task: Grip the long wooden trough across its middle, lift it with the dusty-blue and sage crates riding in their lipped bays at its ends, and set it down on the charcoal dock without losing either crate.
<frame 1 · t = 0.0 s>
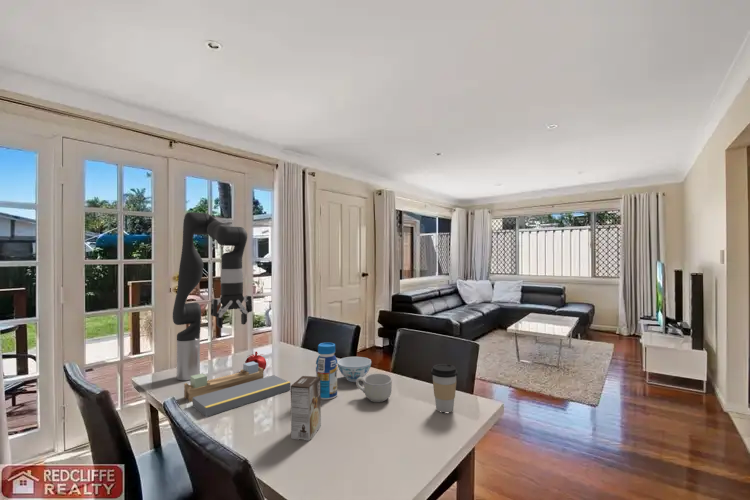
hand: (232, 325, 129), 29 cm above the table, tool pointing down, fingers open, 8 cm apart
dock: (244, 397, 138), on the table
pale blue block: (250, 372, 154), point 4 cm above the table, touching long wooden trough
beverage bottle: (326, 396, 139), on the table
pomegranate: (255, 371, 169), on the table
coffee box: (306, 433, 110), on the table
sage crate: (198, 385, 139), point 4 cm above the table, touching long wooden trough
long wooden trough: (226, 389, 147), on the table, touching pale blue block, sage crate
chinaware: (354, 379, 157), on the table
coffee cup: (444, 410, 126), on the table
teacup: (374, 399, 136), on the table
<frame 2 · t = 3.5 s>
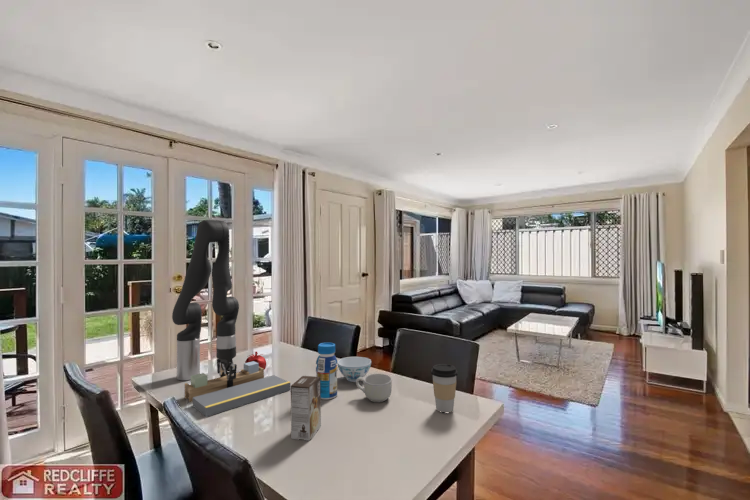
hand: (226, 386, 146), 1 cm above the table, tool pointing down, fingers closed on long wooden trough, 6 cm apart
long wooden trough: (226, 389, 146), on the table, touching pale blue block, gripper, sage crate
everything else where it was.
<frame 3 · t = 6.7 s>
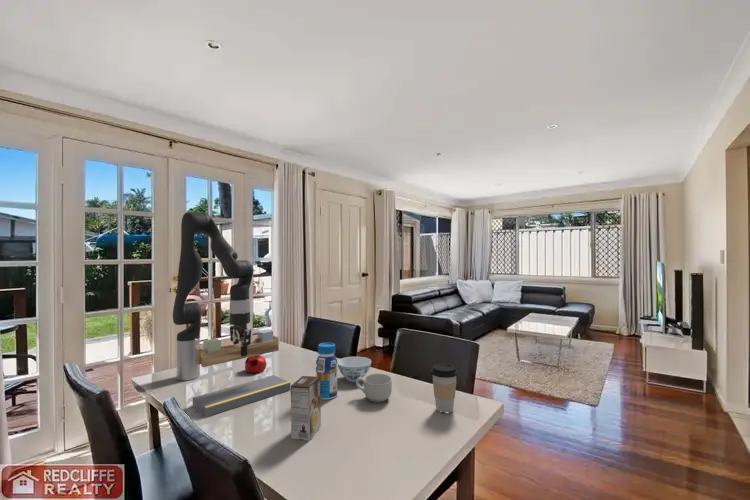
hand: (240, 354, 139), 16 cm above the table, tool pointing down, fingers closed on long wooden trough, 6 cm apart
pale blue block: (265, 340, 147), point 20 cm above the table, touching long wooden trough
sage crate: (212, 350, 132), point 20 cm above the table, touching long wooden trough
long wooden trough: (240, 356, 139), point 15 cm above the table, touching pale blue block, gripper, sage crate
everything else where it was.
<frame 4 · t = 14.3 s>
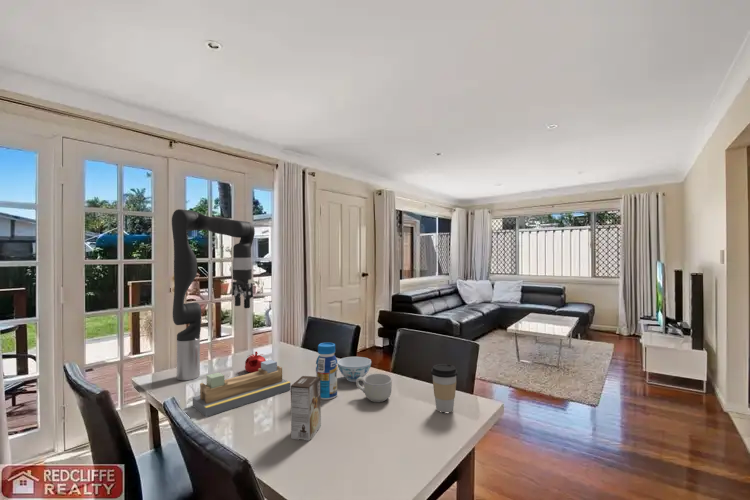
hand: (242, 307, 150), 33 cm above the table, tool pointing down, fingers open, 8 cm apart
pale blue block: (268, 370, 145), point 8 cm above the table, touching long wooden trough
sage crate: (215, 385, 130), point 8 cm above the table, touching long wooden trough
long wooden trough: (243, 389, 138), point 3 cm above the table, touching pale blue block, dock, sage crate
everything else where it was.
at the end: long wooden trough inside the target area on the dock (0.1 cm from its centre), point 3.0 cm above the dock's base; pale blue block inside the target area on the long wooden trough (0.6 cm from its centre), point 4.6 cm above the long wooden trough's base; sage crate inside the target area on the long wooden trough (0.6 cm from its centre), point 4.6 cm above the long wooden trough's base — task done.
